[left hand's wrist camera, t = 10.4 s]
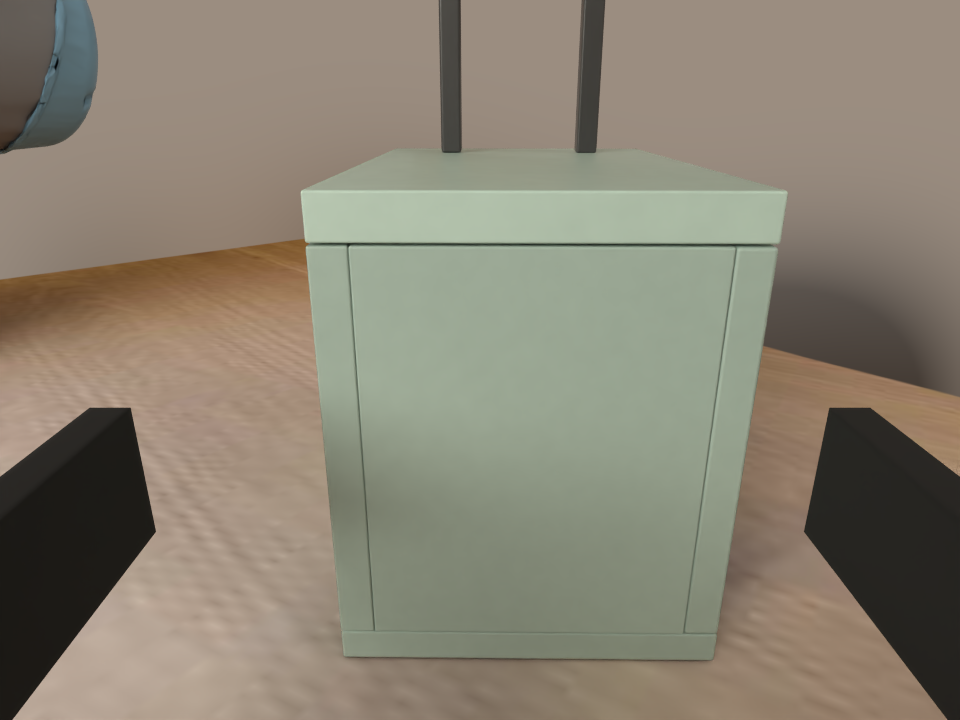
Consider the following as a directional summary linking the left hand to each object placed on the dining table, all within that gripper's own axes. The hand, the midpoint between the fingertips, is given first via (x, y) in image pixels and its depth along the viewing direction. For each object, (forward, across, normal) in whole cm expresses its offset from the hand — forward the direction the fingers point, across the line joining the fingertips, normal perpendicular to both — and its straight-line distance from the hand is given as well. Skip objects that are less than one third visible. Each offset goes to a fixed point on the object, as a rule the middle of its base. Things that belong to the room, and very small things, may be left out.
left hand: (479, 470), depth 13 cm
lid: (+9, +1, +4) cm, 10 cm away
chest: (+9, +1, -7) cm, 11 cm away
